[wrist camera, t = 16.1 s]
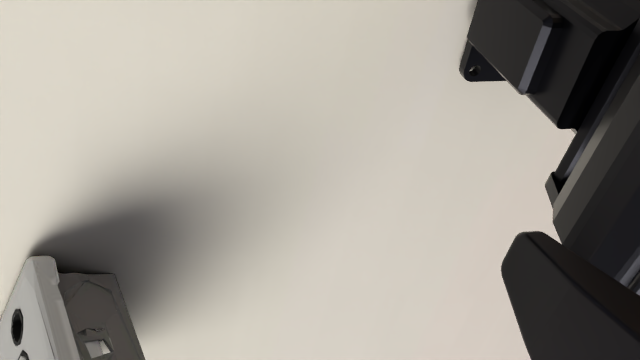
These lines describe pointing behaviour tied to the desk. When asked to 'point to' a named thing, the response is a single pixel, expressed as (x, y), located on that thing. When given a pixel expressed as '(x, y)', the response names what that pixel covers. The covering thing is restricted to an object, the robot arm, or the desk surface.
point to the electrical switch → (66, 317)
